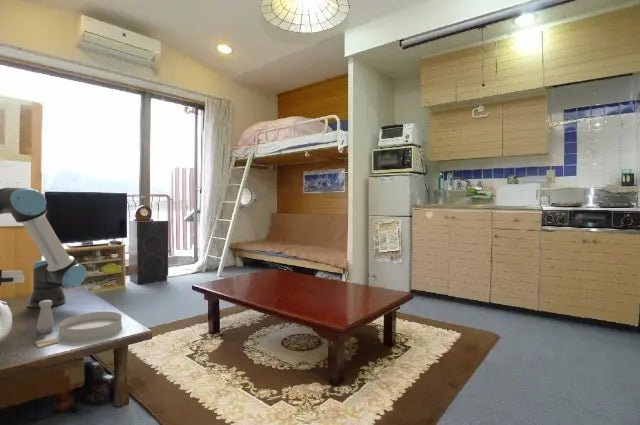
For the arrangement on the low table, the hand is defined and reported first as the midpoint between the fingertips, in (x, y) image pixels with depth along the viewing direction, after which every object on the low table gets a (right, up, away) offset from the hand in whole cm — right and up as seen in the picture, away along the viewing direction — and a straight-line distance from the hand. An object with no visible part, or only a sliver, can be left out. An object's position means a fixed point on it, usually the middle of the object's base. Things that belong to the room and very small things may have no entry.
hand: (23, 276), depth 139 cm
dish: (+25, -24, +4) cm, 35 cm away
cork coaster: (+17, -24, -9) cm, 31 cm away
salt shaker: (+8, -23, +1) cm, 25 cm away
